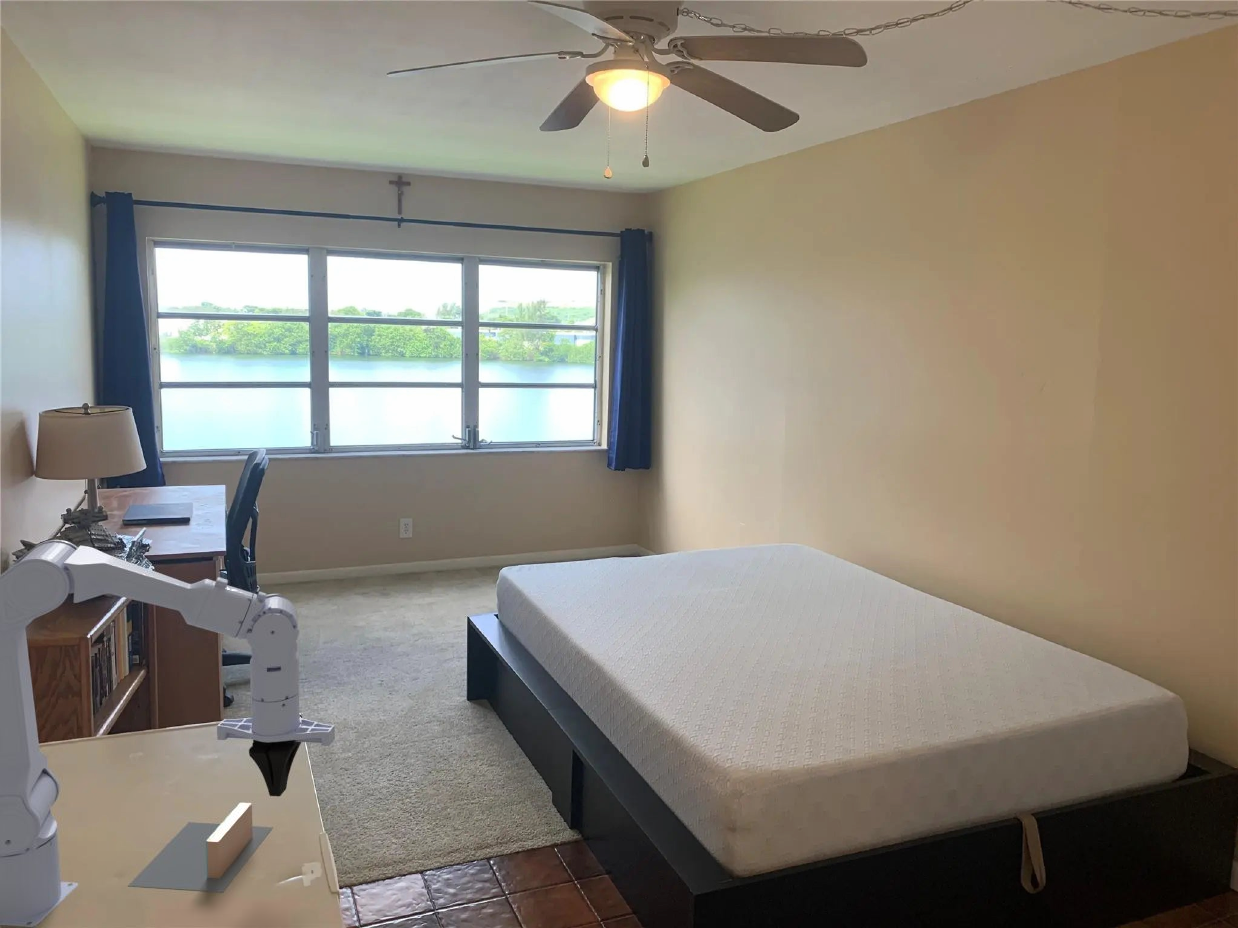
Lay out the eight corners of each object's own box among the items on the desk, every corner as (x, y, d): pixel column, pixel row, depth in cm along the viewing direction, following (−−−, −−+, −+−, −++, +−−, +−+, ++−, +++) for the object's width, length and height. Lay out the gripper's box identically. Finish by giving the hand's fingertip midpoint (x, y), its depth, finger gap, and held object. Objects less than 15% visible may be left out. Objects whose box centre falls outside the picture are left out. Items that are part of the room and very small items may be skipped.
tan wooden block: (207, 877, 109) (205, 840, 108) (241, 836, 118) (240, 802, 117) (219, 878, 109) (218, 841, 108) (252, 836, 117) (251, 802, 117)
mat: (128, 888, 107) (127, 885, 107) (189, 824, 120) (188, 821, 120) (222, 894, 106) (222, 891, 106) (273, 829, 120) (273, 827, 120)
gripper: (342, 683, 113) (344, 779, 115) (234, 677, 113) (237, 773, 116) (322, 706, 106) (324, 808, 108) (206, 699, 107) (210, 801, 109)
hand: (277, 792), depth 111 cm, fingers closed
